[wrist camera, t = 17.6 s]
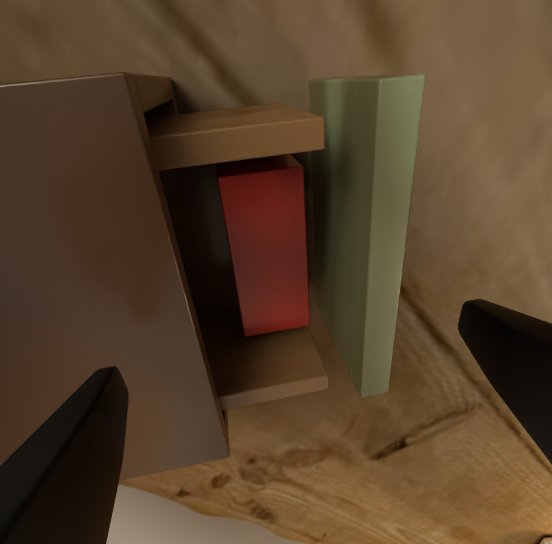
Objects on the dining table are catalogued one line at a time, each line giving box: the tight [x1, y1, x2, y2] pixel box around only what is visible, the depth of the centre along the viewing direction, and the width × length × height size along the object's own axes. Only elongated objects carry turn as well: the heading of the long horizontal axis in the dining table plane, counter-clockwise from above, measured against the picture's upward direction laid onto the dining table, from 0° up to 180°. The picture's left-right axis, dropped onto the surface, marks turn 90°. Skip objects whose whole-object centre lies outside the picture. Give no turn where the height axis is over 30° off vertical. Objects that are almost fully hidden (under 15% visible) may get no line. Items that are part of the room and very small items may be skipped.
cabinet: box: [0, 72, 230, 481], centre depth 13 cm, size 13×13×9 cm
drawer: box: [145, 74, 425, 411], centre depth 13 cm, size 13×11×7 cm
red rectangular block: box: [216, 154, 310, 337], centre depth 14 cm, size 7×3×4 cm, turn 5°
